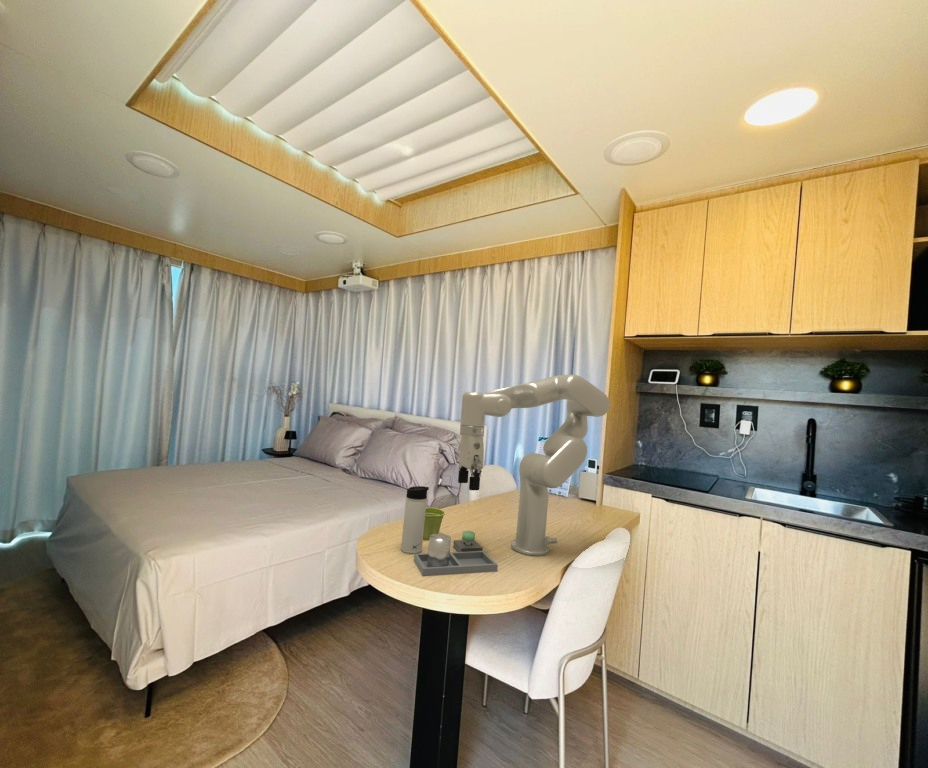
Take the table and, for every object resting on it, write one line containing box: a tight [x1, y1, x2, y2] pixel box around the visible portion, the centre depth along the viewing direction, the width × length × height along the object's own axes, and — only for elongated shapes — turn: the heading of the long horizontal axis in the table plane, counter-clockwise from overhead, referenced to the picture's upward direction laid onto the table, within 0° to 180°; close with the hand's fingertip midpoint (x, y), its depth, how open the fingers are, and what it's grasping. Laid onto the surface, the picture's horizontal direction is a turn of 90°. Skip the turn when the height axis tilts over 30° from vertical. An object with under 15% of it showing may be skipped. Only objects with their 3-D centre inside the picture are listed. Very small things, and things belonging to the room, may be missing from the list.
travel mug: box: [400, 485, 430, 555], centre depth 121 cm, size 6×7×20 cm
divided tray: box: [413, 550, 499, 577], centre depth 112 cm, size 21×10×3 cm, turn 110°
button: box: [461, 530, 476, 545], centre depth 124 cm, size 4×4×5 cm
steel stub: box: [427, 533, 452, 567], centre depth 110 cm, size 6×6×8 cm
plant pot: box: [423, 507, 446, 541], centre depth 136 cm, size 9×9×9 cm
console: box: [452, 539, 484, 552], centre depth 124 cm, size 7×7×3 cm
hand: (468, 486), depth 125 cm, fingers open, 9 cm apart
